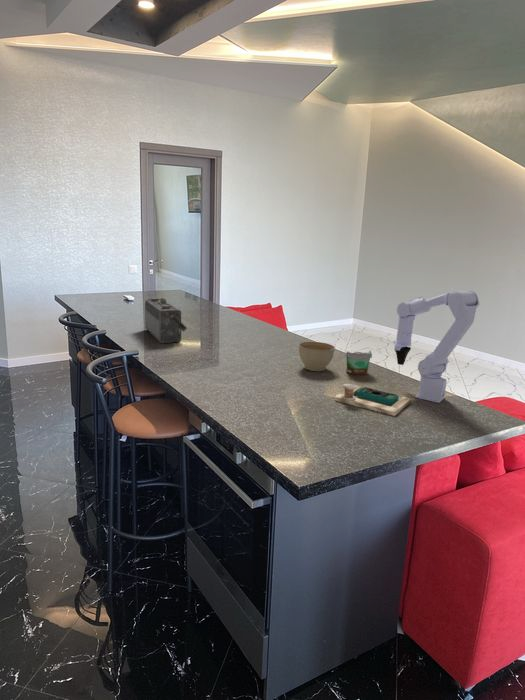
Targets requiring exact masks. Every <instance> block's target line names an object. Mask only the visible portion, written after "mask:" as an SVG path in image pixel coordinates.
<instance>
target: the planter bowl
mask: <svg viewBox="0 0 525 700" xmlns="http://www.w3.org/2000/svg"><path fill="white" fill-rule="evenodd" d="M335 349H336V346H334V345H333V344H330V343H327V342H323V341H322V342H320V341H302V342H300V343H298V351H299V353H298V354H299V357H300V360H301V362H302V364H303V367H304V369H306V370H308V371H312V372H323V371H325V370H326V368H327V366H329V364H330V363H331V361H332V360H333V357H334V353H335Z"/></svg>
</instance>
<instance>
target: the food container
mask: <svg viewBox="0 0 525 700" xmlns="http://www.w3.org/2000/svg"><path fill="white" fill-rule="evenodd" d="M372 354H373V353H372V351H371V350H369V351H368V352H359V351H357V352H350V351H346V353H345V355H344V356H345V357H346V374H348V375H350V376H351V375H352V376H357V377H359V376H361V377H364V376H367V375H368V371H369V365H370V360H371V359H372V357H373V355H372Z"/></svg>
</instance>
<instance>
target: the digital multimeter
mask: <svg viewBox="0 0 525 700" xmlns="http://www.w3.org/2000/svg"><path fill="white" fill-rule="evenodd" d="M357 397H358V398H360V399H364V400H368V401H369V400H370V401H372V402H376V403H380V404H381V403H382V404H384V403H385V404H384V405H387V406H392V405H393V404H395V403H396V402H397V401H399V398H400V397H399V395H398V394H397V393H391V392H386V391H383V390H378V389H374V388H370V387H367V386H364V387H362V388H361V389H359V390H358V391H357V393H356V398H357Z"/></svg>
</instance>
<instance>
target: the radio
mask: <svg viewBox="0 0 525 700" xmlns="http://www.w3.org/2000/svg"><path fill="white" fill-rule="evenodd" d="M144 307H145V308H144V312H145V313H144V315H145V318H144V319H145V320H144V321H145V324H144V325H145V326H144V327H145V329H147V330H148V331H149V332H150V334H151V336H153V338H155V339H156V340H157V341H158V342H159V343H160V344H173V343H172V342H177V343H180V342H181V341H182V333H183V332H185V331H186V330H187V329H188V327H187V326H186V325H185V324H184V323H182V310H181V309H179V308H177V307H175V306H174V305H172V304H170V302H167V299H166V298H164V297H161V298H158V297H151V298H150V299H147V300H146V299H145V302H144ZM147 330H146V331H147ZM148 331H147V332H148ZM149 332H148V333H149Z"/></svg>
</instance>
